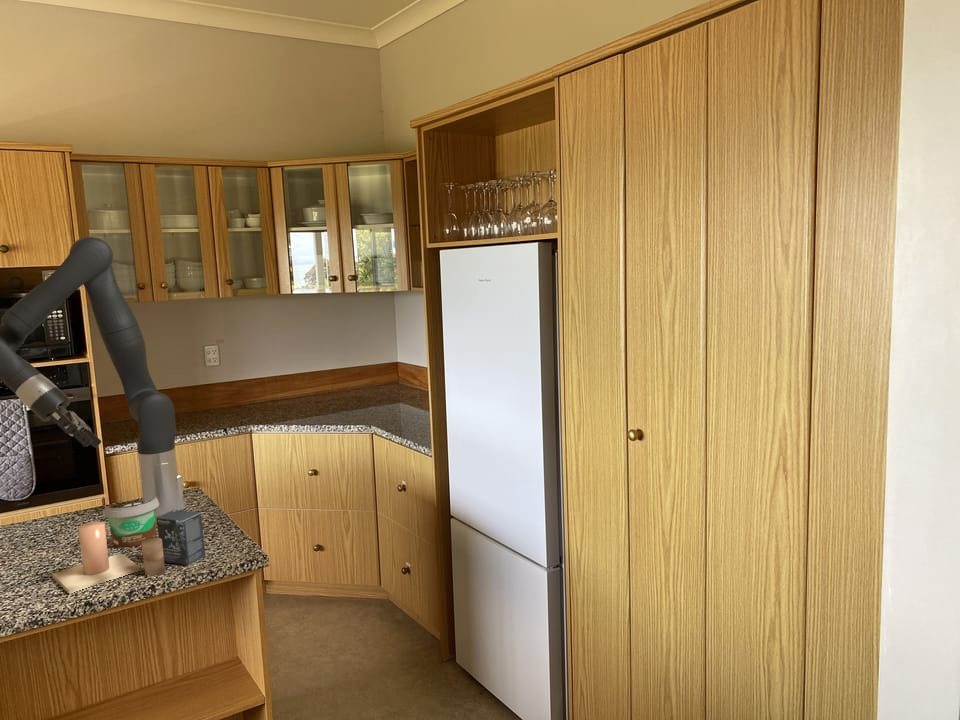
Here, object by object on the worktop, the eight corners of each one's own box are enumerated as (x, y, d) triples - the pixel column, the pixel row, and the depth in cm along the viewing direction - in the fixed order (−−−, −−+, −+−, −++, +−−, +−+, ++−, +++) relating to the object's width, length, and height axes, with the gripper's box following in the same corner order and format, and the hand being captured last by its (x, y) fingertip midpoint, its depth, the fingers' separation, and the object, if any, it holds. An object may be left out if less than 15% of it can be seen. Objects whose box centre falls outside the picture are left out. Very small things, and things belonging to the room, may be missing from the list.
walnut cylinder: (161, 566, 157) (157, 536, 156) (168, 571, 154) (164, 540, 153) (142, 572, 154) (138, 541, 153) (149, 577, 152) (145, 546, 151)
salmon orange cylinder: (105, 563, 158) (100, 519, 157) (112, 569, 154) (107, 525, 153) (80, 570, 155) (75, 526, 153) (87, 577, 151) (82, 531, 150)
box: (160, 562, 159) (155, 517, 158) (179, 552, 165) (174, 508, 163) (187, 566, 157) (182, 520, 155) (206, 556, 162) (201, 511, 160)
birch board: (121, 557, 164) (121, 553, 163) (140, 571, 155) (140, 567, 155) (52, 578, 154) (52, 573, 154) (69, 594, 145) (68, 589, 145)
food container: (109, 554, 166) (104, 513, 164) (107, 546, 171) (102, 506, 170) (166, 541, 172) (161, 501, 171) (162, 534, 177) (158, 495, 176)
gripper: (46, 383, 165) (99, 432, 166) (64, 388, 178) (113, 434, 180) (19, 406, 163) (73, 456, 164) (39, 410, 176) (88, 456, 178)
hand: (94, 444), depth 172 cm, fingers open, 8 cm apart
